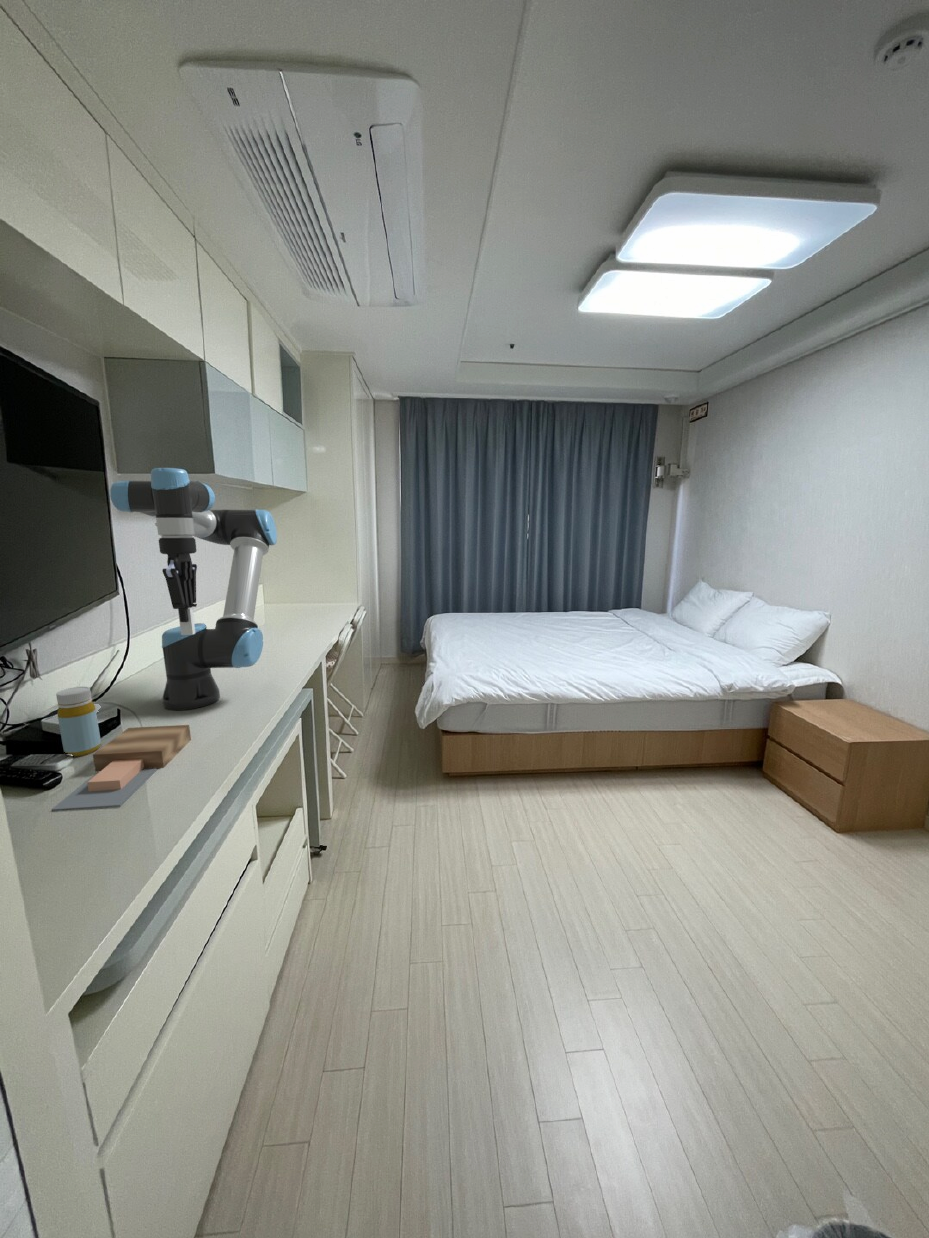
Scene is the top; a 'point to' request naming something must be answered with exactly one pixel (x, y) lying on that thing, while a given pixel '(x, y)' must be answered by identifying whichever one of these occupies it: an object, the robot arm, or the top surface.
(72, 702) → the bottle
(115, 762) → the tile
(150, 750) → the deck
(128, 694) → the top surface
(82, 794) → the mat
